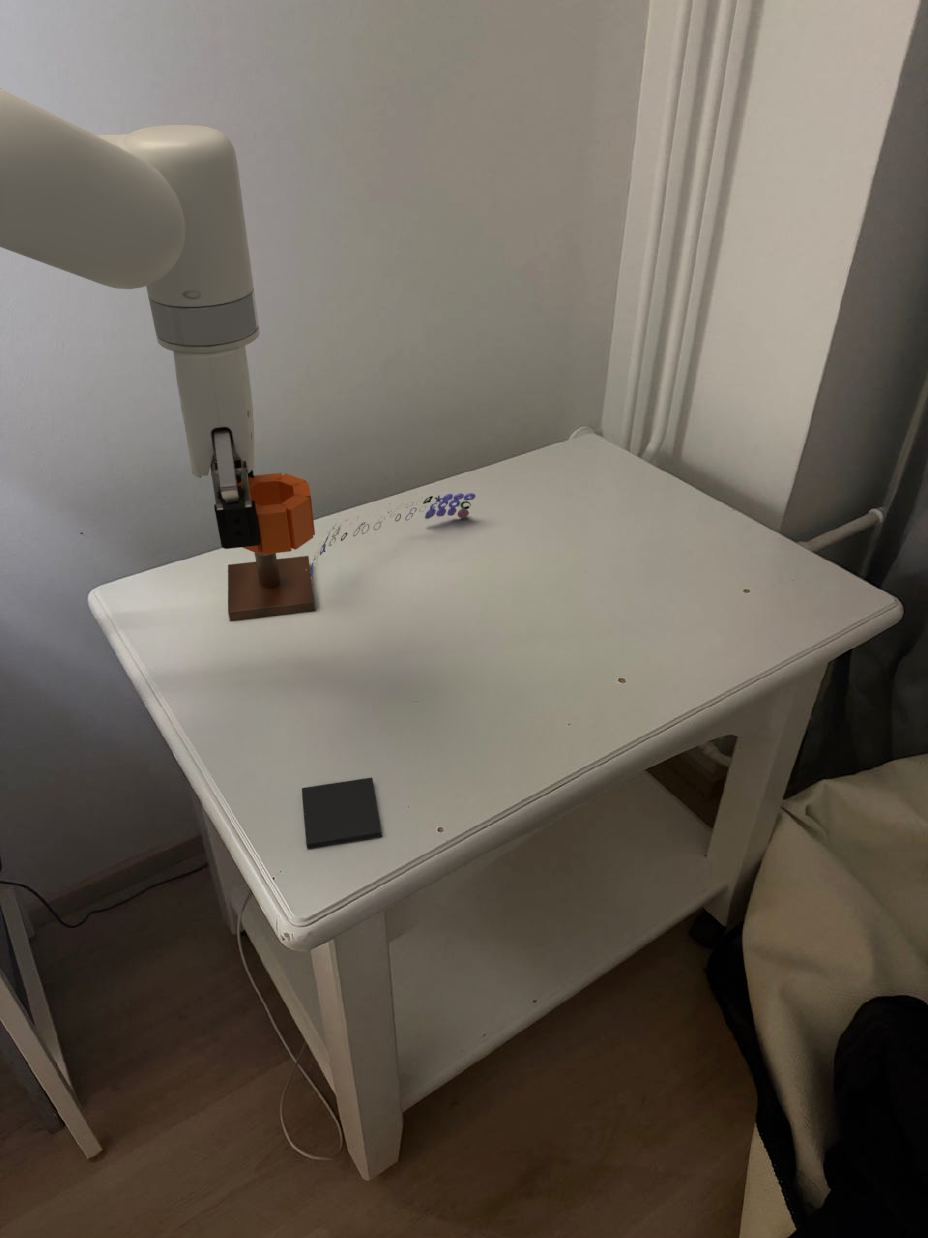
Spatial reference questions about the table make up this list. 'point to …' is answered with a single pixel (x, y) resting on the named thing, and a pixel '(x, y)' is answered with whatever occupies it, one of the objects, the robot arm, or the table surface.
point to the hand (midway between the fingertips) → (240, 521)
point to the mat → (340, 813)
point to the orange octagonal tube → (281, 512)
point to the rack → (269, 587)
